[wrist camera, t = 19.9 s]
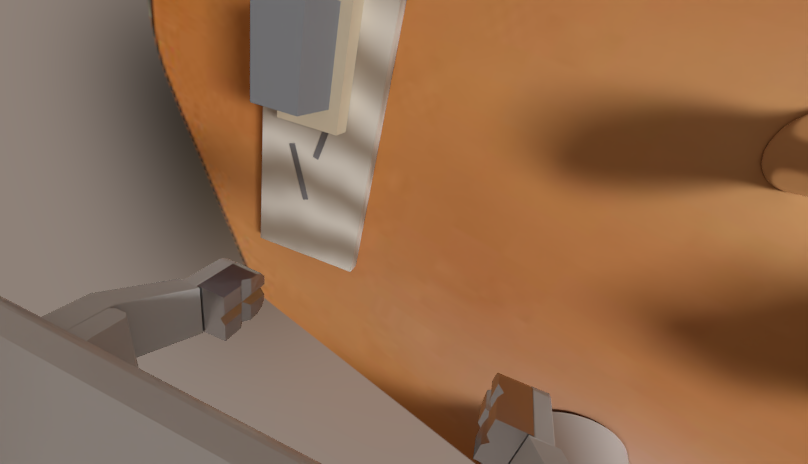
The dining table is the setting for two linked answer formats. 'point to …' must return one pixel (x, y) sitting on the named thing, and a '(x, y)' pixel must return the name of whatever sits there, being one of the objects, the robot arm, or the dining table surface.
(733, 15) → the dining table surface
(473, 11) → the dining table surface
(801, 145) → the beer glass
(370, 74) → the marked board
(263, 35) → the block
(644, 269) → the dining table surface
